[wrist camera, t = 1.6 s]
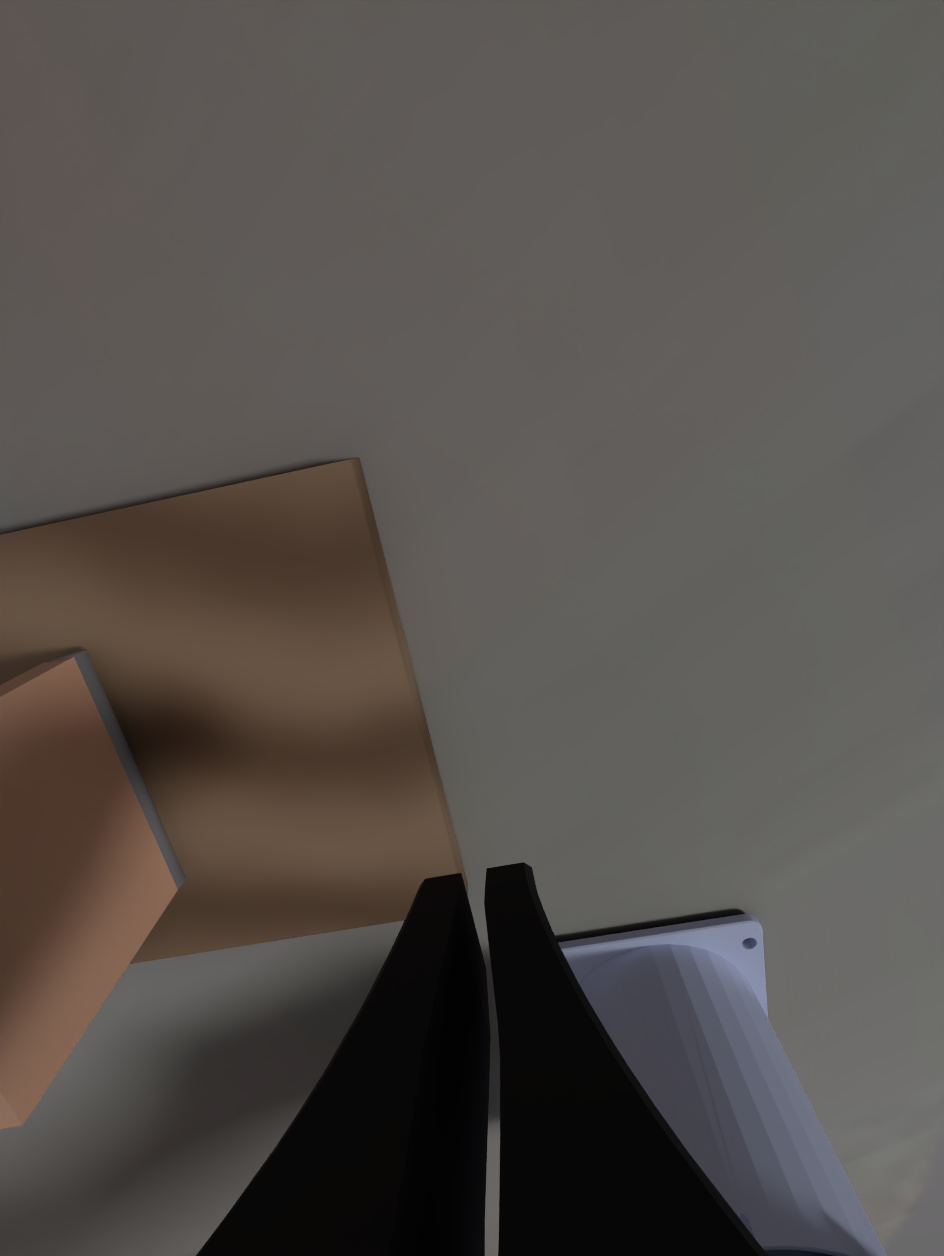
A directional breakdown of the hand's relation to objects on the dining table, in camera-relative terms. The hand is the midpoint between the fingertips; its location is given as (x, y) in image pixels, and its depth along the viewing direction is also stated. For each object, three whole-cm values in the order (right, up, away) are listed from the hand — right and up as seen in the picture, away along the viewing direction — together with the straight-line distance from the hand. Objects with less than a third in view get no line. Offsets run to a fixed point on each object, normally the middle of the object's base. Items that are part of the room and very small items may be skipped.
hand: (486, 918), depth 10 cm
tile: (-10, -1, +5) cm, 11 cm away
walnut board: (-11, +1, +10) cm, 14 cm away
